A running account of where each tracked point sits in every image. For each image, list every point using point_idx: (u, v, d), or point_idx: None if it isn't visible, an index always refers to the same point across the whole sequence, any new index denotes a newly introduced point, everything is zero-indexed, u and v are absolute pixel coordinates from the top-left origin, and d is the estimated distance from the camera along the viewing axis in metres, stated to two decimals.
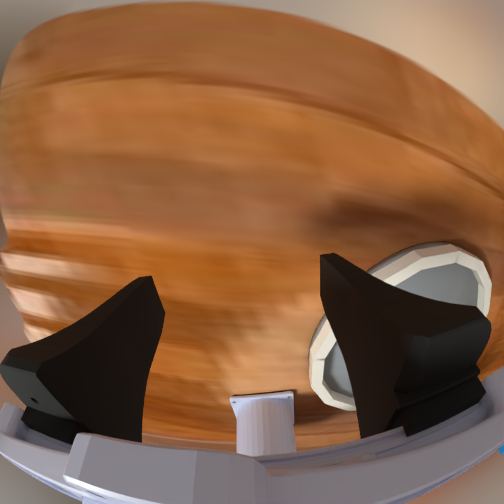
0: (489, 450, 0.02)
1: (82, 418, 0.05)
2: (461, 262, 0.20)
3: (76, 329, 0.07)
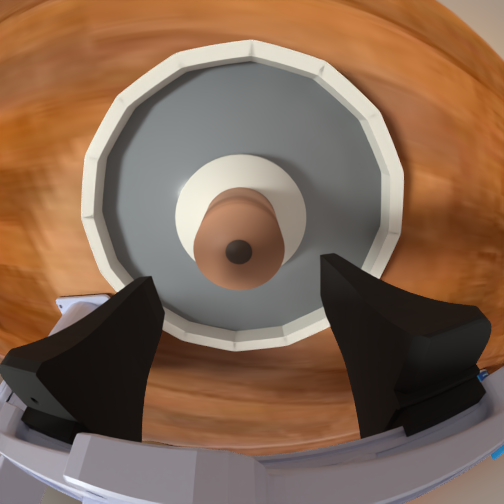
0: (489, 450, 0.02)
1: (82, 418, 0.05)
2: (266, 56, 0.13)
3: (76, 329, 0.07)
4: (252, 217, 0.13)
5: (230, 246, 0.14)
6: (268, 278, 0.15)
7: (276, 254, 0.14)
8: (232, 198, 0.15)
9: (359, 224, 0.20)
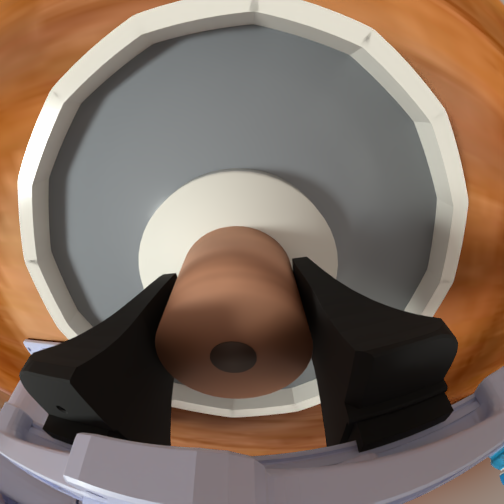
0: (489, 450, 0.02)
1: (117, 425, 0.05)
2: (279, 12, 0.07)
3: (104, 329, 0.06)
4: (257, 308, 0.07)
5: (217, 349, 0.08)
6: (282, 386, 0.08)
7: (297, 358, 0.08)
8: (220, 259, 0.08)
9: (403, 269, 0.14)
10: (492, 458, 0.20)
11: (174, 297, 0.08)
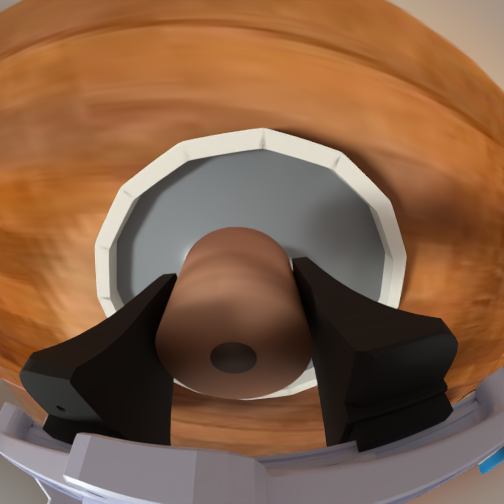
0: (489, 450, 0.02)
1: (116, 425, 0.05)
2: (278, 148, 0.15)
3: (104, 329, 0.06)
4: (257, 309, 0.07)
5: (218, 350, 0.08)
6: (282, 386, 0.08)
7: (297, 359, 0.08)
8: (221, 259, 0.08)
9: None
10: None
11: (174, 298, 0.08)
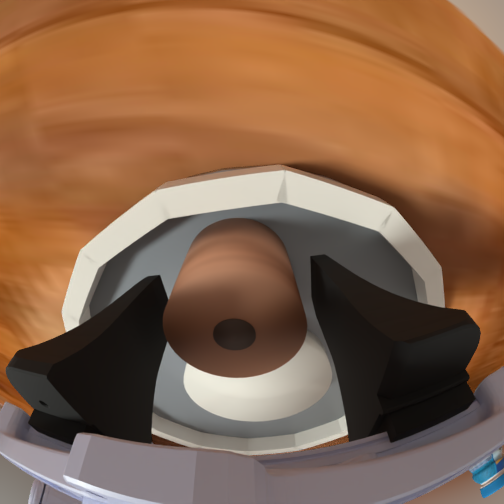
0: (489, 450, 0.02)
1: (94, 421, 0.05)
2: (306, 202, 0.10)
3: (85, 329, 0.07)
4: (256, 287, 0.08)
5: (220, 327, 0.09)
6: (279, 364, 0.09)
7: (293, 336, 0.09)
8: (223, 244, 0.09)
9: None
10: (473, 473, 0.23)
11: (181, 278, 0.08)
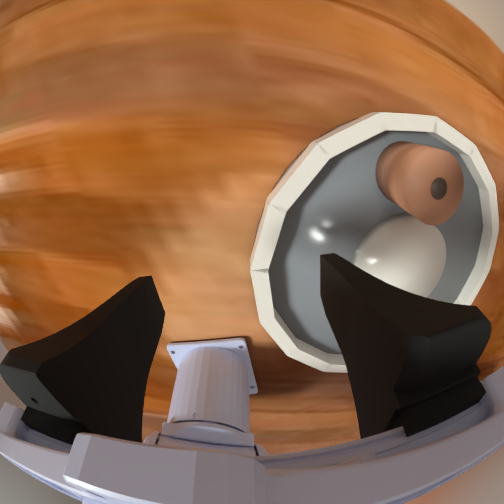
0: (489, 450, 0.02)
1: (82, 418, 0.05)
2: (443, 134, 0.14)
3: (76, 329, 0.07)
4: (450, 159, 0.12)
5: (434, 182, 0.13)
6: (451, 214, 0.14)
7: (458, 193, 0.13)
8: (422, 145, 0.14)
9: (464, 265, 0.21)
10: None
11: (415, 154, 0.13)
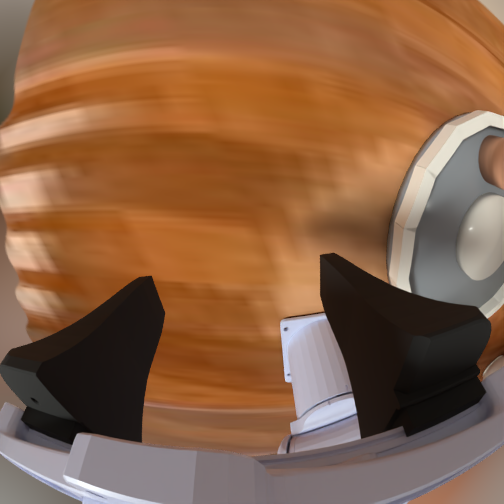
0: (489, 450, 0.02)
1: (82, 417, 0.05)
2: None
3: (76, 329, 0.07)
4: None
5: None
6: None
7: None
8: None
9: None
10: None
11: None
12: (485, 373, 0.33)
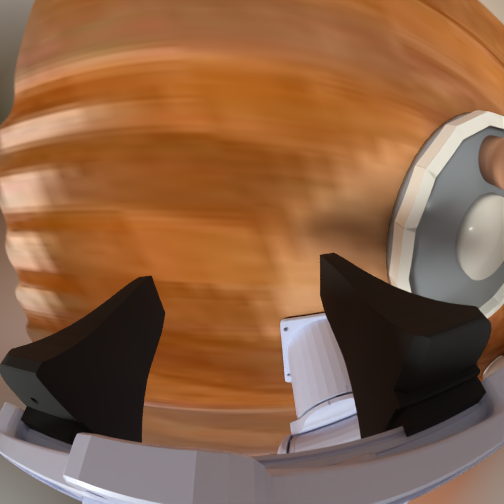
0: (489, 450, 0.02)
1: (82, 417, 0.05)
2: None
3: (76, 329, 0.07)
4: None
5: None
6: None
7: None
8: None
9: None
10: None
11: None
12: (485, 373, 0.33)
